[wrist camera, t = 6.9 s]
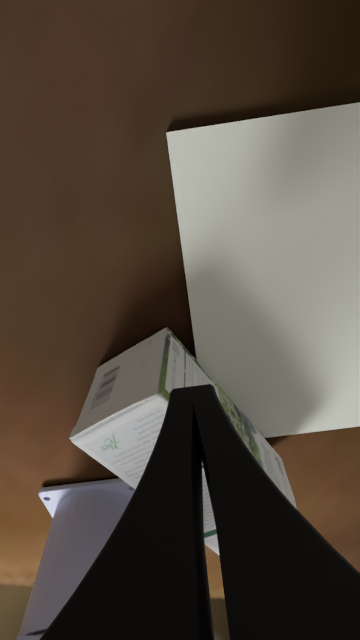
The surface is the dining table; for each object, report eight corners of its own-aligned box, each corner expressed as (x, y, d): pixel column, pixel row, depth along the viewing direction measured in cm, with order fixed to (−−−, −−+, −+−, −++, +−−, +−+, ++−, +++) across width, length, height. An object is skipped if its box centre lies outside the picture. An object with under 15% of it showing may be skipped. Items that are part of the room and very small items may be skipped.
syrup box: (63, 442, 15) (224, 566, 21) (162, 390, 13) (309, 542, 19) (95, 366, 20) (218, 483, 26) (170, 321, 18) (285, 458, 24)
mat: (424, 412, 23) (429, 417, 23) (207, 439, 24) (208, 444, 24) (544, 73, 13) (557, 71, 13) (166, 132, 14) (166, 132, 13)
